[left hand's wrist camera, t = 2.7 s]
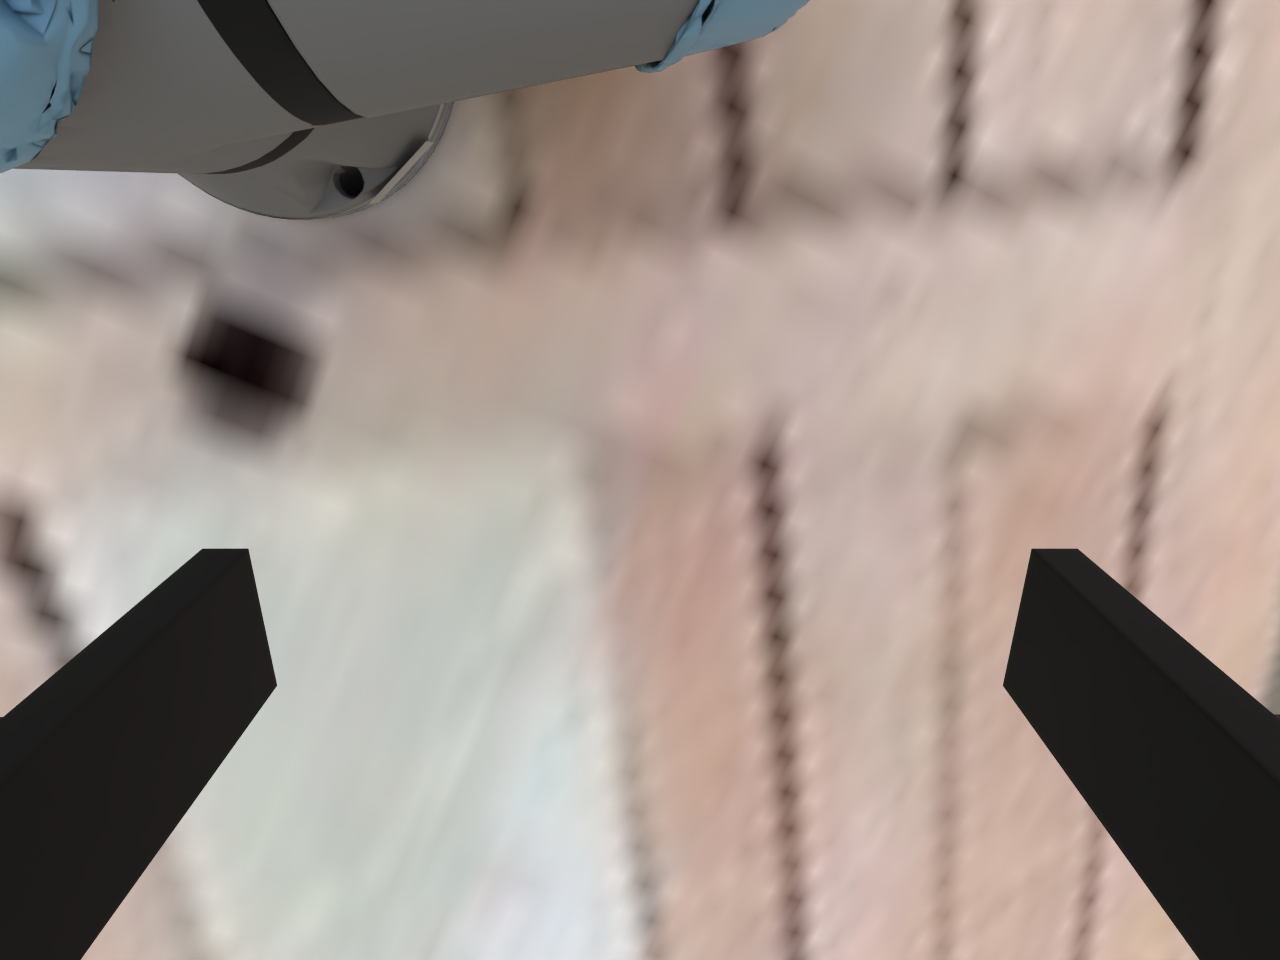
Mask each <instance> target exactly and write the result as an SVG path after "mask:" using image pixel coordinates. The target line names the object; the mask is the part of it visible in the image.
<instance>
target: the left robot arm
mask: <svg viewBox="0 0 1280 960" xmlns="http://www.w3.org/2000/svg"><path fill="white" fill-rule="evenodd" d="M808 1H809V0H0V173H2V172H5V171H7V170H10V169H12V168H15V169H50V170H84V171H119V172H153V173H177V174H179V175H180V176H182V177H183V178H185V179H186V180H188V181H189V182H191V183H192V184H193V185H195V186H197V187H198V188H200V189H201V190H203V191H204V192H206V193H207V194H209V195H211V196H213V197H215V198H217V199H219V200H221V201H223V202H225V203H227V204H230V205H232V206H234V207H237V208H239V209H242V210H245V211H248V212H252V213H255V214H259V215H263V216H268V217H273V218H282V219H316V218H327V217H337V216H341V215H346V214H351V213H354V212H357V211H360V210H363V209H366V208H368V207H370V206H372V205H375V204H378V203H379V202H381V201H382V200H384V199H386V198H387V197H389V196H391V195H392V194H394V193H395V192H396V191H397V190H399V189H400V188H401V187H403V186H404V185H405V184H406V183H407V182H408V181H409V180H410V179H411V178H412V177H413V176H415V174H416V173H417V172H418V171H419V170H420V169H421V167H422V166H423V165H424V164H425V162H426V161H427V160H428V158H429V157H430V155H431V154H432V152H433V151H434V149H435V147H436V145H437V143H438V142H439V140H440V138H441V136H442V134H443V131H444V129H445V126H446V124H447V122H448V119H449V116H450V112H451V109H452V106H453V102H454V101H457V100H462V99H468V98H473V97H478V96H483V95H488V94H493V93H498V92H503V91H508V90H513V89H518V88H523V87H528V86H533V85H538V84H543V83H548V82H554V81H559V80H564V79H569V78H574V77H579V76H584V75H589V74H594V73H599V72H604V71H609V70H614V69H619V68H624V67H629V66H635V67H636V69H637V70H639V71H641V72H646V73H651V72H658V71H661V70H664V69H666V67H668V66H670V65H672V64H674V63H677V62H678V61H679V60H681V59H682V58H683V57H684V56H688V55H692V54H696V53H700V52H704V51H708V50H713V49H717V48H721V47H725V46H729V45H733V44H737V43H741V42H745V41H749V40H753V39H757V38H760V37H763V36H765V35H767V34H769V33H771V32H773V31H775V30H776V29H778V28H779V27H780V26H782V25H783V24H784V23H785V22H786V21H787V20H788V19H789V18H790V17H792V16H793V15H794V14H795V13H796V11H797V10H799V9H800V8H801V7H803V6H804V5H806V4H807V2H808ZM276 686H277V683H276V678H275V674H274V669H273V664H272V659H271V655H270V650H269V645H268V640H267V636H266V631H265V626H264V621H263V617H262V612H261V607H260V602H259V598H258V593H257V588H256V583H255V578H254V574H253V569H252V564H251V559H250V555H249V550H248V549H202V550H200V551H199V552H198V553H197V554H196V555H195V556H193V557H192V558H191V559H190V560H189V561H187V562H186V563H185V564H184V565H183V566H182V567H180V568H179V569H178V570H177V571H176V572H174V573H173V574H172V575H171V576H170V577H169V578H167V579H166V580H165V581H164V582H163V583H161V584H160V585H159V586H158V587H157V588H156V589H154V590H153V591H152V592H151V593H150V594H148V595H147V596H146V597H145V598H144V599H142V600H141V601H140V602H139V603H138V604H137V605H135V606H134V607H133V608H132V609H131V610H129V611H128V612H127V613H126V614H125V615H124V616H122V617H121V618H120V619H119V620H118V621H116V622H115V623H114V624H113V625H112V626H111V627H109V628H108V629H107V630H106V631H105V632H103V633H102V634H101V635H100V636H99V637H98V638H96V639H95V640H94V641H93V642H92V643H90V644H89V645H88V646H87V647H86V648H84V649H83V650H82V651H81V652H80V653H79V654H77V655H76V656H75V657H74V658H73V659H71V660H70V661H69V662H68V663H67V664H66V665H64V666H63V667H62V668H61V669H60V670H58V671H57V672H56V673H55V674H54V675H53V676H51V677H50V678H49V679H48V680H47V681H45V682H44V683H43V684H42V685H41V686H40V687H38V688H37V689H36V690H35V691H34V692H32V693H31V694H30V695H29V696H28V697H27V698H25V699H24V700H23V701H22V702H21V703H19V704H18V705H17V706H16V707H15V708H13V709H12V710H11V711H10V712H9V713H8V714H6V715H5V716H4V717H0V960H81V958H82V957H83V956H84V954H85V953H86V951H87V950H88V949H89V947H90V946H91V944H92V943H93V942H94V940H95V939H96V937H97V936H98V935H99V933H100V932H101V930H102V929H103V928H104V926H105V925H106V923H107V922H108V921H109V919H110V918H111V916H112V915H113V914H114V912H115V911H116V910H117V908H118V907H119V905H120V904H121V903H122V901H123V900H124V898H125V897H126V896H127V894H128V893H129V891H130V890H131V889H132V887H133V886H134V884H135V883H136V882H137V880H138V879H139V877H140V876H141V875H142V873H143V872H144V870H145V869H146V868H147V866H148V865H149V863H150V862H151V861H152V859H153V858H154V857H155V855H156V854H157V852H158V851H159V850H160V848H161V847H162V845H163V844H164V843H165V841H166V840H167V838H168V837H169V836H170V834H171V833H172V831H173V830H174V829H175V827H176V826H177V824H178V823H179V822H180V820H181V819H182V817H183V816H184V815H185V813H186V812H187V810H188V809H189V808H190V806H191V805H192V803H193V802H194V801H195V799H196V798H197V797H198V795H199V794H200V792H201V791H202V790H203V788H204V787H205V785H206V784H207V783H208V781H209V780H210V778H211V777H212V776H213V774H214V773H215V771H216V770H217V769H218V767H219V766H220V764H221V763H222V762H223V760H224V759H225V757H226V756H227V755H228V753H229V752H230V750H231V749H232V748H233V746H234V745H235V744H236V742H237V741H238V739H239V738H240V737H241V735H242V734H243V732H244V731H245V730H246V728H247V727H248V725H249V724H250V723H251V721H252V720H253V718H254V717H255V716H256V714H257V713H258V711H259V710H260V709H261V707H262V706H263V704H264V703H265V702H266V700H267V699H268V697H269V696H270V695H271V693H272V692H273V690H274V689H275V688H276ZM1003 686H1004V688H1005V689H1006V690H1007V692H1008V693H1009V695H1010V696H1011V697H1012V699H1013V700H1014V702H1015V703H1016V704H1017V706H1018V707H1019V709H1020V710H1021V711H1022V713H1023V714H1024V716H1025V717H1026V718H1027V720H1028V721H1029V723H1030V724H1031V725H1032V727H1033V728H1034V730H1035V731H1036V732H1037V734H1038V735H1039V737H1040V738H1041V739H1042V741H1043V742H1044V744H1045V745H1046V746H1047V748H1048V749H1049V750H1050V752H1051V753H1052V755H1053V756H1054V757H1055V759H1056V760H1057V762H1058V763H1059V764H1060V766H1061V767H1062V769H1063V770H1064V771H1065V773H1066V774H1067V776H1068V777H1069V778H1070V780H1071V781H1072V783H1073V784H1074V785H1075V787H1076V788H1077V790H1078V791H1079V792H1080V794H1081V795H1082V797H1083V798H1084V799H1085V801H1086V802H1087V803H1088V805H1089V806H1090V808H1091V809H1092V810H1093V812H1094V813H1095V815H1096V816H1097V817H1098V819H1099V820H1100V822H1101V823H1102V824H1103V826H1104V827H1105V829H1106V830H1107V831H1108V833H1109V834H1110V836H1111V837H1112V838H1113V840H1114V841H1115V843H1116V844H1117V845H1118V847H1119V848H1120V850H1121V851H1122V852H1123V854H1124V855H1125V857H1126V858H1127V859H1128V861H1129V862H1130V863H1131V865H1132V866H1133V868H1134V869H1135V870H1136V872H1137V873H1138V875H1139V876H1140V877H1141V879H1142V880H1143V882H1144V883H1145V884H1146V886H1147V887H1148V889H1149V890H1150V891H1151V893H1152V894H1153V896H1154V897H1155V898H1156V900H1157V901H1158V903H1159V904H1160V905H1161V907H1162V908H1163V910H1164V911H1165V912H1166V914H1167V915H1168V916H1169V918H1170V919H1171V921H1172V922H1173V923H1174V925H1175V926H1176V928H1177V929H1178V930H1179V932H1180V933H1181V935H1182V936H1183V937H1184V939H1185V940H1186V942H1187V943H1188V944H1189V946H1190V947H1191V949H1192V950H1193V951H1194V953H1195V954H1196V956H1197V957H1198V958H1199V960H1280V715H1274V714H1272V713H1271V712H1270V711H1269V710H1268V709H1267V708H1265V707H1264V706H1263V705H1262V704H1261V703H1259V702H1258V701H1257V700H1256V699H1255V698H1253V697H1252V696H1251V695H1250V694H1249V693H1248V692H1246V691H1245V690H1244V689H1243V688H1242V687H1240V686H1239V685H1238V684H1237V683H1236V682H1235V681H1233V680H1232V679H1231V678H1230V677H1229V676H1227V675H1226V674H1225V673H1224V672H1223V671H1222V670H1220V669H1219V668H1218V667H1217V666H1216V665H1214V664H1213V663H1212V662H1211V661H1210V660H1209V659H1207V658H1206V657H1205V656H1204V655H1203V654H1201V653H1200V652H1199V651H1198V650H1197V649H1195V648H1194V647H1193V646H1192V645H1191V644H1190V643H1188V642H1187V641H1186V640H1185V639H1184V638H1182V637H1181V636H1180V635H1179V634H1178V633H1177V632H1175V631H1174V630H1173V629H1172V628H1171V627H1169V626H1168V625H1167V624H1166V623H1165V622H1164V621H1162V620H1161V619H1160V618H1159V617H1158V616H1156V615H1155V614H1154V613H1153V612H1152V611H1151V610H1149V609H1148V608H1147V607H1146V606H1145V605H1143V604H1142V603H1141V602H1140V601H1139V600H1138V599H1136V598H1135V597H1134V596H1133V595H1132V594H1130V593H1129V592H1128V591H1127V590H1126V589H1124V588H1123V587H1122V586H1121V585H1120V584H1119V583H1117V582H1116V581H1115V580H1114V579H1113V578H1111V577H1110V576H1109V575H1108V574H1107V573H1106V572H1104V571H1103V570H1102V569H1101V568H1100V567H1098V566H1097V565H1096V564H1095V563H1094V562H1093V561H1091V560H1090V559H1089V558H1088V557H1087V556H1085V555H1084V554H1083V553H1082V552H1081V551H1080V550H1078V549H1032V550H1031V555H1030V559H1029V564H1028V569H1027V574H1026V578H1025V583H1024V588H1023V593H1022V598H1021V602H1020V607H1019V612H1018V617H1017V621H1016V626H1015V631H1014V636H1013V640H1012V645H1011V650H1010V655H1009V659H1008V664H1007V669H1006V674H1005V678H1004V683H1003Z"/></svg>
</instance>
